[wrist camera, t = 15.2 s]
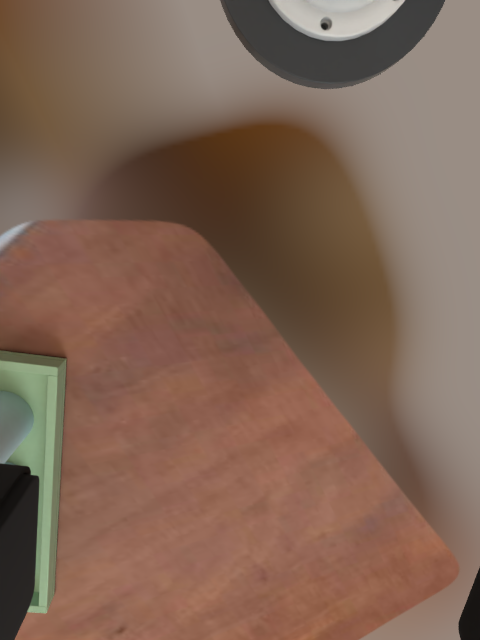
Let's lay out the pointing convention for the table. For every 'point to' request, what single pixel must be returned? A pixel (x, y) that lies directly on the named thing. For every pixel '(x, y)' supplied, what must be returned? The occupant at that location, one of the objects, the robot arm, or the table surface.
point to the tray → (40, 452)
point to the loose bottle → (13, 423)
